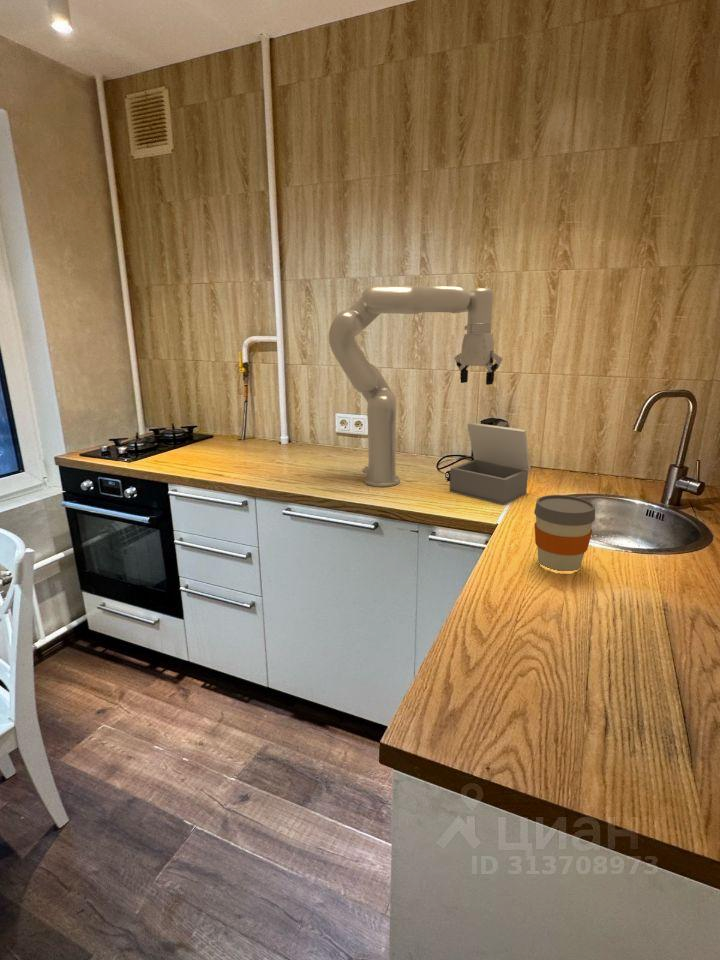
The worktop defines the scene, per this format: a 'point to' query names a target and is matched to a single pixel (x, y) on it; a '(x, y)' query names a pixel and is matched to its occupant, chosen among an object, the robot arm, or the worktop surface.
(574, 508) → the reusable coffee cup
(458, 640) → the worktop surface
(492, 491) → the grey hinged box
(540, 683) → the worktop surface
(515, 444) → the lid
